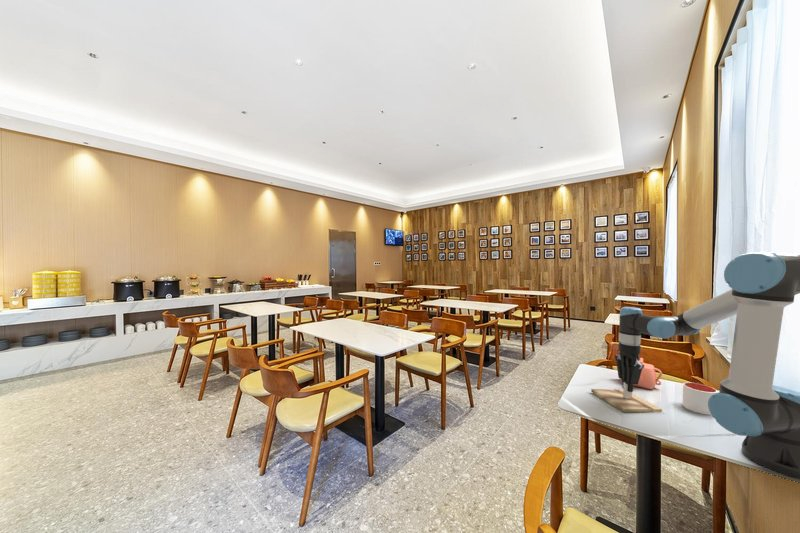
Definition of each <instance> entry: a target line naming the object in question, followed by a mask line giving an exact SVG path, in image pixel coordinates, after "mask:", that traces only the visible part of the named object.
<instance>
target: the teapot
mask: <svg viewBox="0 0 800 533" xmlns="http://www.w3.org/2000/svg"><path fill="white" fill-rule="evenodd" d="M639 362H640V363H641V364H644V368H643V369H642V371H641V375H640V379H639V382H638V384H634V385H633V387H634V386H635V387H638V388H643V389H648V390H654V388H656V387H655V386H661V385H662V382H661V381H660V379H661V378H662V376H663V372H662V371H661V369H659V368H657V367H655V366H654V365H653V364H650V363H646V362H644V358H643V357H640V358H639ZM656 371H657V372H658V374H659V375H658V376H657V374H656ZM621 376H622V375H621Z"/></svg>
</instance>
